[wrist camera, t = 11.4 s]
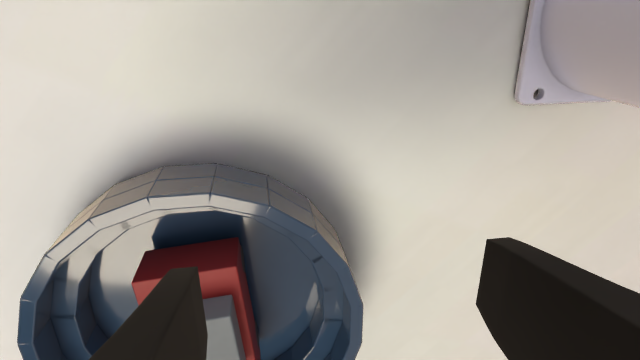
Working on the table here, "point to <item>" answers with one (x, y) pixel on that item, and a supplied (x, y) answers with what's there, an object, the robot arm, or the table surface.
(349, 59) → the table surface
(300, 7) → the table surface
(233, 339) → the red block grey top
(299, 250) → the bowl
